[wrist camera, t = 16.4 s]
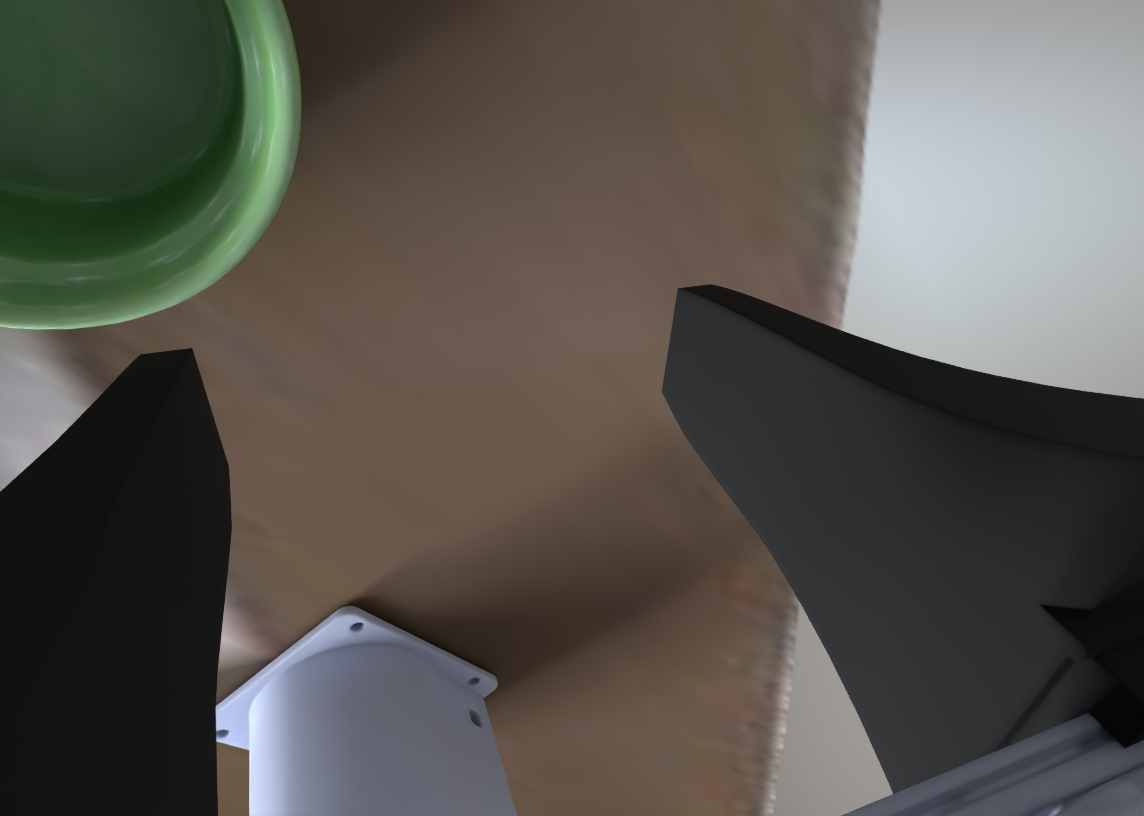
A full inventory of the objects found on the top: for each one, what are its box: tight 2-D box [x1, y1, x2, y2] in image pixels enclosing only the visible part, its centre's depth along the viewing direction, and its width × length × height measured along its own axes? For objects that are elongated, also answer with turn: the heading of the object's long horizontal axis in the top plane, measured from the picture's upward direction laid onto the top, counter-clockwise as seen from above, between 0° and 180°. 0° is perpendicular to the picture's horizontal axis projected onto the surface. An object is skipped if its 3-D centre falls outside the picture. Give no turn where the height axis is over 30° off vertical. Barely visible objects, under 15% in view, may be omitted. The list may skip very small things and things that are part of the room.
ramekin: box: [0, 0, 302, 330], centre depth 12 cm, size 9×9×4 cm
